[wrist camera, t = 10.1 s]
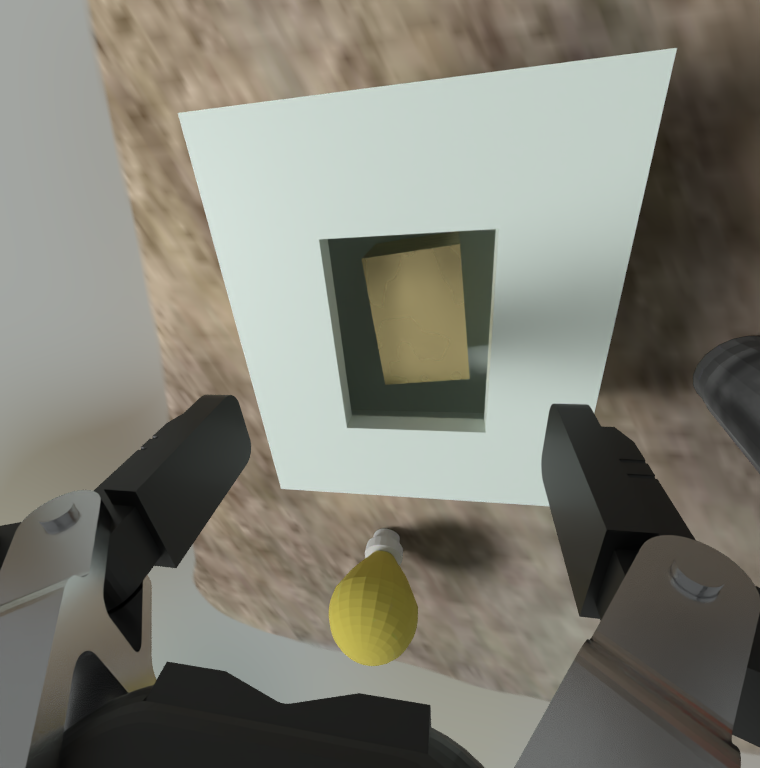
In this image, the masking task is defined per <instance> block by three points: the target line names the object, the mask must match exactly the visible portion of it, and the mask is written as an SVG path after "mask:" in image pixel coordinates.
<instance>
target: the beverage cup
mask: <svg viewBox="0 0 760 768" xmlns="http://www.w3.org/2000/svg"><path fill="white" fill-rule="evenodd" d="M693 385H694V388H695V390H696V392H697V394H698V395H699V396H700V397H702V399H703V401H704V402H705V404H706V406H707V408H708V410H709V411H710V412H711V413H712V415H713V416H714V417H715V418H716V420H717V421H718V422H719V423H720V425H721V426H722V427H723V428H724V430H725V431H726V432H727V433H728V435H729V436H730V437H731V439H732V440H733V441H734V442H735V444H736V445H737V446H738V447H739V449H740V450H741V451H742V452H743V454H744V455H745V456H746V457H747V459H748V460H749V461H750V462H751V464H752V465H753V466H754V467H755V469H756V470H757V471H758V472H759V474H760V336H746V337H741V338H736V339H732V340H730V341H728V342H725V343H723V344H721V345H719V346H717V347H716V348H714V349H713V350H712V351H710V352H709V353H707V354H706V355H705V357H704V358H703V359H702V360H701V361H700V362H699V364H698V365H697V368H696V370H695V372H694V375H693Z"/></svg>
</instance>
